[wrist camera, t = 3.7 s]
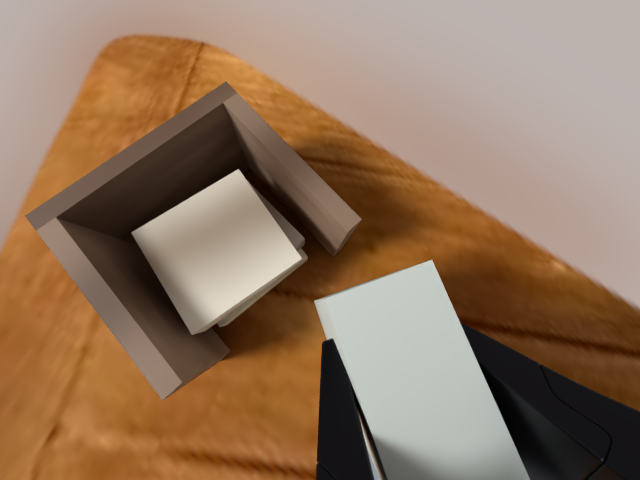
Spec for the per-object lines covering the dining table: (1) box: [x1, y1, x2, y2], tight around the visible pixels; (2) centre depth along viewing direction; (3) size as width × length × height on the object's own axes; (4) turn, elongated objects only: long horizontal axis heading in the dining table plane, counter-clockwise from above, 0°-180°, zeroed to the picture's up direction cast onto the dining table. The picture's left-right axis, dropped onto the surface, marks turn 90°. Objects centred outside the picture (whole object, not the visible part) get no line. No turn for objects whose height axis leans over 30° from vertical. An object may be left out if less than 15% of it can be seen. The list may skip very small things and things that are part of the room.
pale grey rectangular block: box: [314, 260, 530, 480], centre depth 11 cm, size 6×3×10 cm, turn 19°
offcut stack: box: [131, 169, 308, 335], centre depth 14 cm, size 6×6×4 cm
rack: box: [25, 82, 362, 400], centre depth 13 cm, size 9×10×6 cm
